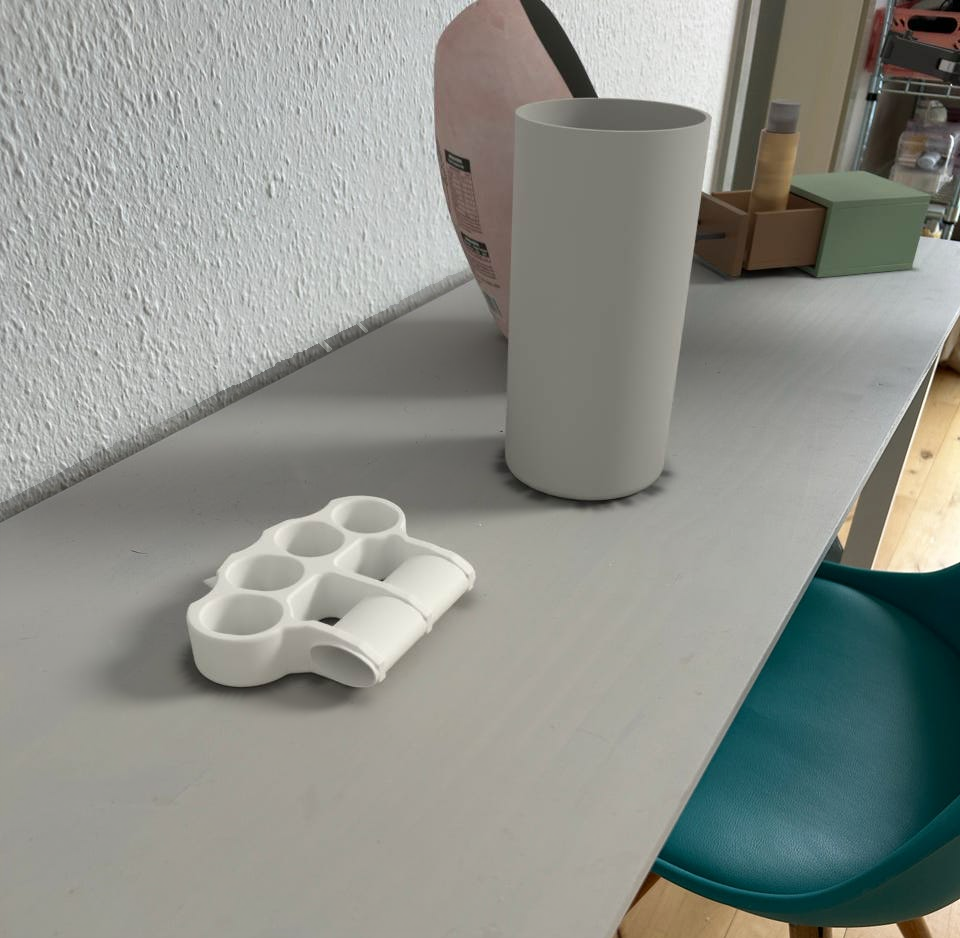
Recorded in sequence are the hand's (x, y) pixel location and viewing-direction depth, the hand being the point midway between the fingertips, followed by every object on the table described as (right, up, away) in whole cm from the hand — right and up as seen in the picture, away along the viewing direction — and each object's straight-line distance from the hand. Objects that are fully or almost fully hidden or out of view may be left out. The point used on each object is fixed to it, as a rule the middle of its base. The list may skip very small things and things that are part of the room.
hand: (942, 53), depth 113 cm
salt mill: (-18, -19, +9) cm, 28 cm away
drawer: (-22, -20, +9) cm, 31 cm away
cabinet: (-8, -18, +13) cm, 24 cm away
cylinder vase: (-45, -54, -34) cm, 78 cm away
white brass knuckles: (-62, -66, -51) cm, 104 cm away
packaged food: (-47, -39, -15) cm, 63 cm away
